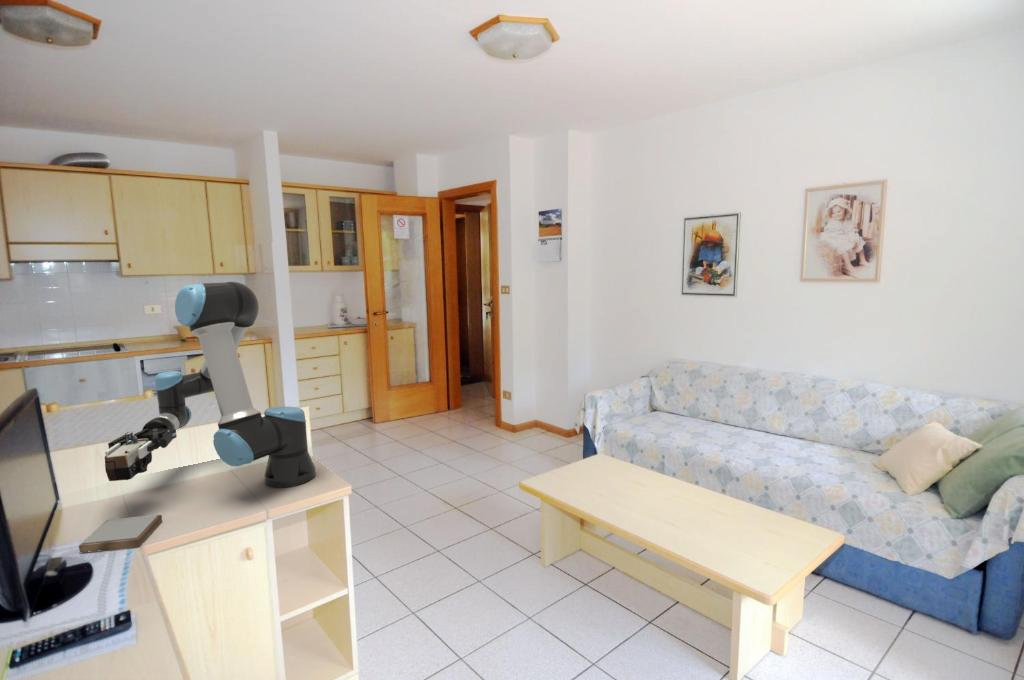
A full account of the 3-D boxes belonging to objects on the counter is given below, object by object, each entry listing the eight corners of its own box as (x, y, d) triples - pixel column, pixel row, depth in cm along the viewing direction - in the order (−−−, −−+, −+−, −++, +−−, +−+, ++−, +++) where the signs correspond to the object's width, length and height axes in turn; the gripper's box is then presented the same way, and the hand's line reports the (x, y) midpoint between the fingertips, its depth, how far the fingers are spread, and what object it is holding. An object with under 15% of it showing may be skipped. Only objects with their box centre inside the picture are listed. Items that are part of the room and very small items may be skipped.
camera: (135, 479, 144) (130, 444, 143) (104, 482, 143) (98, 446, 141) (160, 459, 159) (156, 426, 157) (132, 461, 157) (127, 428, 156)
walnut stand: (162, 521, 146) (161, 513, 145) (139, 546, 133) (138, 538, 133) (108, 526, 143) (107, 518, 143) (79, 553, 131) (78, 544, 130)
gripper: (197, 437, 171) (166, 464, 149) (126, 442, 167) (83, 471, 145) (194, 414, 170) (163, 438, 147) (123, 419, 166) (79, 445, 144)
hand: (123, 454), depth 146 cm, fingers closed on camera, 7 cm apart
